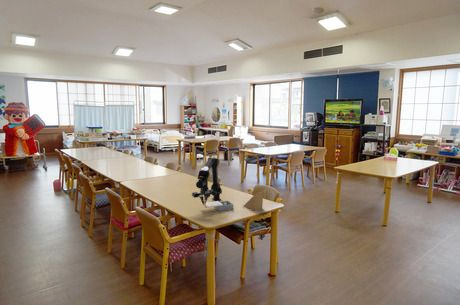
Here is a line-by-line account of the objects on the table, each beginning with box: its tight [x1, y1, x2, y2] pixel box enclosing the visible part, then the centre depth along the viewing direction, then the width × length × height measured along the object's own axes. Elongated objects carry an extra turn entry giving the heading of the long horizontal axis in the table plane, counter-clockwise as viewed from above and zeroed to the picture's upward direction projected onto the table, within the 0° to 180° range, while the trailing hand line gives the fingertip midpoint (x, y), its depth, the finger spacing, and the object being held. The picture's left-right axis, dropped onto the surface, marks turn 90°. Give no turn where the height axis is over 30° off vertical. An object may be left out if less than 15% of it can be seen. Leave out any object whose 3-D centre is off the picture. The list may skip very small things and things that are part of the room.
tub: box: [213, 200, 234, 212], centre depth 252 cm, size 10×13×4 cm
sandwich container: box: [243, 191, 264, 212], centre depth 255 cm, size 9×15×15 cm, turn 41°
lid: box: [200, 198, 223, 208], centre depth 247 cm, size 11×15×5 cm
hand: (203, 204), depth 244 cm, fingers closed on lid
